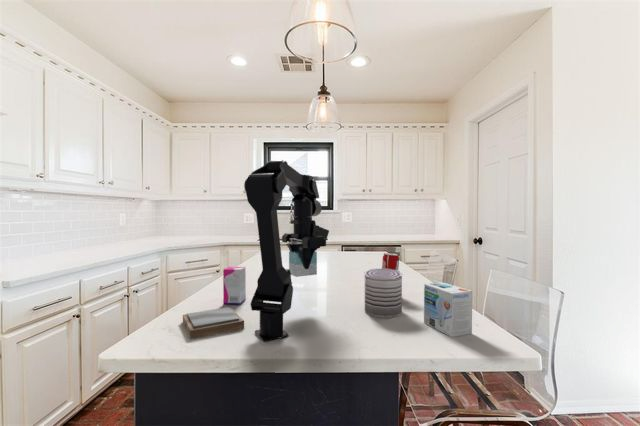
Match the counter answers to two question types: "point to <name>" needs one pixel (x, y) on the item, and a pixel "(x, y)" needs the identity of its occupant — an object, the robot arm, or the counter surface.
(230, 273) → the supplement box
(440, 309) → the light bulb box
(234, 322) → the square wooden frame
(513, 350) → the counter surface
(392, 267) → the beverage can
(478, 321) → the counter surface
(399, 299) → the can
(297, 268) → the teal and white box
